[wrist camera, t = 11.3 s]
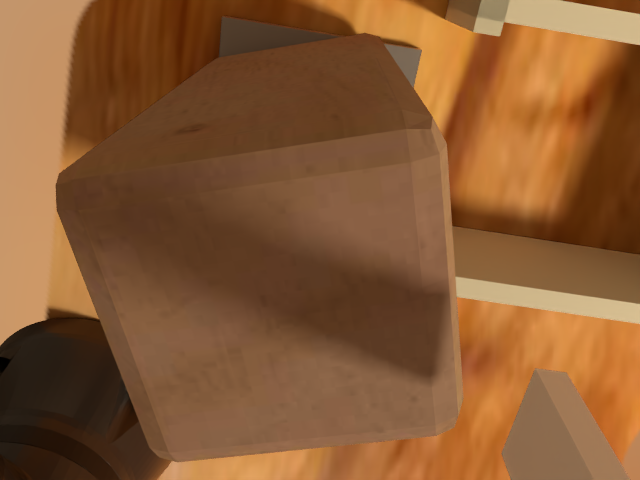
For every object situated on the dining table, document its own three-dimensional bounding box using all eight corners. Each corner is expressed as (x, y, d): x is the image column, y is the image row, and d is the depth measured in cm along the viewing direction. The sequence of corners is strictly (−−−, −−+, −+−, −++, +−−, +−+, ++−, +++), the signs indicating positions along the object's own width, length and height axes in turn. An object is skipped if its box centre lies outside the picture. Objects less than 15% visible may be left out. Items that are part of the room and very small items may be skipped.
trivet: (210, 199, 36) (207, 203, 35) (224, 15, 31) (221, 16, 30) (380, 225, 36) (381, 230, 36) (419, 48, 32) (421, 50, 31)
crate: (394, 234, 37) (406, 289, 30) (453, -17, 30) (484, -13, 24) (660, 274, 37) (726, 336, 31) (773, 39, 31) (885, 56, 25)
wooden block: (203, 58, 31) (24, 177, 13) (382, 28, 30) (451, 112, 12) (242, 221, 36) (146, 479, 18) (400, 199, 35) (472, 447, 17)
